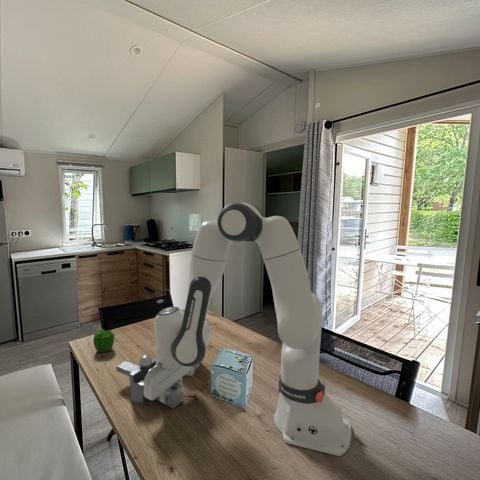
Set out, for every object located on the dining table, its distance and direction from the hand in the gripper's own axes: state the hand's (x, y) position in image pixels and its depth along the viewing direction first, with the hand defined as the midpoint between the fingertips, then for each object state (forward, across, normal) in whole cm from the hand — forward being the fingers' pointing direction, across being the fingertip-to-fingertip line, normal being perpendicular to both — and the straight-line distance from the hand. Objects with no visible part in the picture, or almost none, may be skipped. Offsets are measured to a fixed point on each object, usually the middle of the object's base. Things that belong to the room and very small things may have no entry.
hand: (170, 395), depth 97 cm
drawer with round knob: (+2, 0, +15) cm, 15 cm away
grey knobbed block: (+2, 0, 0) cm, 2 cm away
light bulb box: (+3, +19, +7) cm, 20 cm away
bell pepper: (+2, +12, +49) cm, 51 cm away
